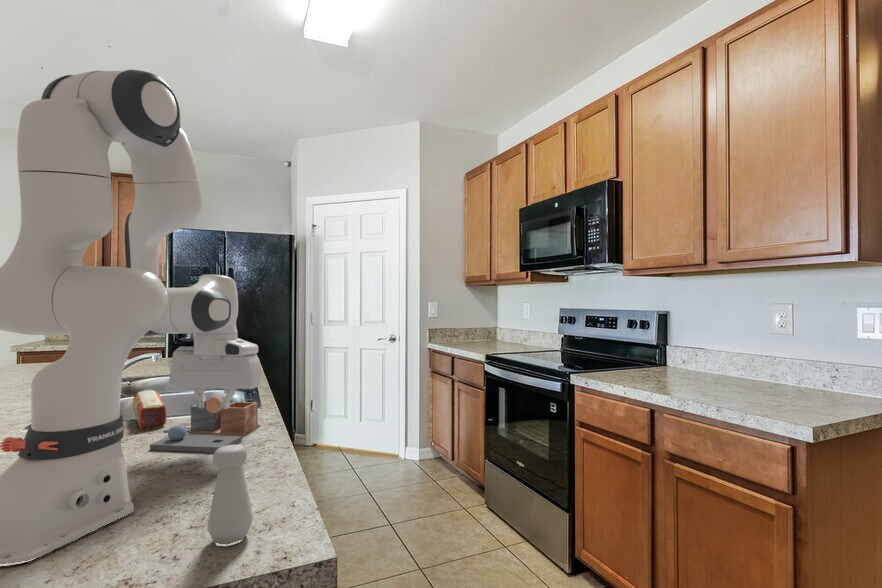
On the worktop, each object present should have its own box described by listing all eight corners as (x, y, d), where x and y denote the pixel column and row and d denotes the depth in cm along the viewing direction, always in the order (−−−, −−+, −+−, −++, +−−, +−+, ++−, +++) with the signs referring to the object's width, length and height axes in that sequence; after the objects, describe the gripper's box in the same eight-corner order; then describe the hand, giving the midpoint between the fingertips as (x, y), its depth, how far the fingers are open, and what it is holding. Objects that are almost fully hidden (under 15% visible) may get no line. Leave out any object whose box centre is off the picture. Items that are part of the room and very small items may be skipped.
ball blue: (178, 443, 102) (178, 427, 102) (164, 442, 103) (164, 427, 103) (189, 438, 106) (189, 423, 106) (175, 438, 106) (175, 422, 106)
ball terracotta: (217, 414, 100) (217, 398, 100) (201, 414, 100) (202, 398, 100) (226, 411, 103) (227, 395, 104) (211, 411, 104) (212, 395, 104)
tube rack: (242, 436, 110) (242, 409, 110) (187, 434, 112) (187, 407, 112) (259, 426, 118) (259, 401, 118) (208, 425, 120) (208, 400, 120)
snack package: (167, 427, 118) (168, 401, 118) (137, 432, 114) (137, 405, 114) (159, 411, 135) (159, 388, 135) (132, 414, 131) (132, 391, 131)
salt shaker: (259, 528, 67) (259, 440, 67) (243, 550, 61) (243, 454, 61) (218, 529, 67) (218, 440, 67) (199, 551, 61) (199, 454, 61)
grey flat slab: (221, 453, 99) (221, 447, 99) (149, 449, 101) (149, 444, 101) (241, 441, 107) (241, 436, 107) (175, 438, 108) (175, 433, 108)
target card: (185, 432, 113) (185, 431, 113) (163, 431, 114) (163, 430, 114) (203, 424, 120) (203, 423, 120) (182, 424, 121) (182, 422, 121)
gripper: (163, 347, 101) (161, 410, 100) (250, 347, 98) (249, 412, 98) (182, 345, 107) (181, 404, 106) (265, 346, 105) (263, 406, 104)
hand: (214, 408), depth 102 cm, fingers closed on ball terracotta, 4 cm apart
